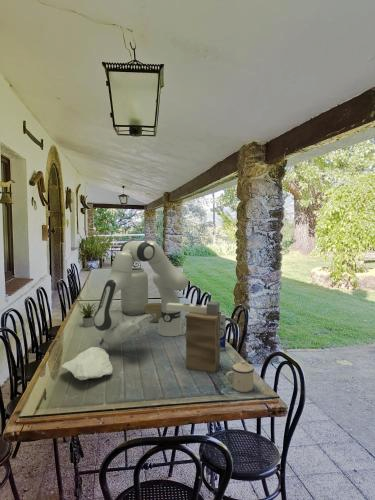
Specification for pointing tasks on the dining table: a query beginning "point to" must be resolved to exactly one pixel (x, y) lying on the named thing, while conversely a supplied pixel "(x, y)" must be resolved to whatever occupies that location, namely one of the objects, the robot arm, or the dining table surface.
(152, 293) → the dining table surface
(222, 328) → the milk carton
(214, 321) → the stand
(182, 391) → the dining table surface
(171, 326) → the robot arm
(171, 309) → the power strip
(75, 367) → the crumpled cloth
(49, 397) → the dining table surface
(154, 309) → the planter bowl
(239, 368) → the teacup with lid
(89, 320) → the house plant
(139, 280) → the vase
